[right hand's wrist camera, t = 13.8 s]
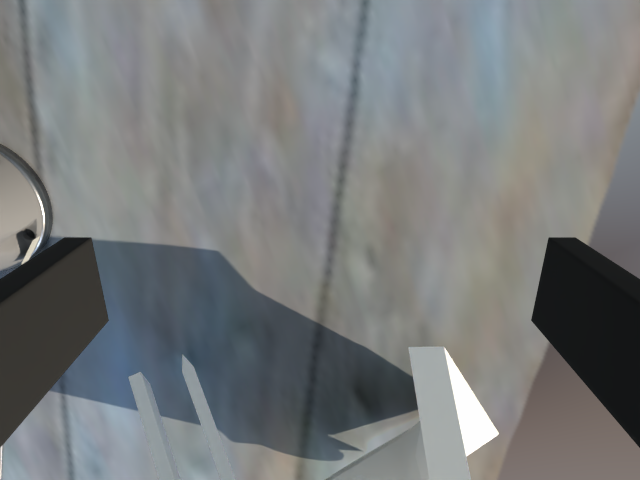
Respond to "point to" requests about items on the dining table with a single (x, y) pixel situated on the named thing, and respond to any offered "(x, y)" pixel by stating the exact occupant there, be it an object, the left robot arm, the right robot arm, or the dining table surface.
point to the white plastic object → (381, 463)
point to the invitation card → (0, 460)
